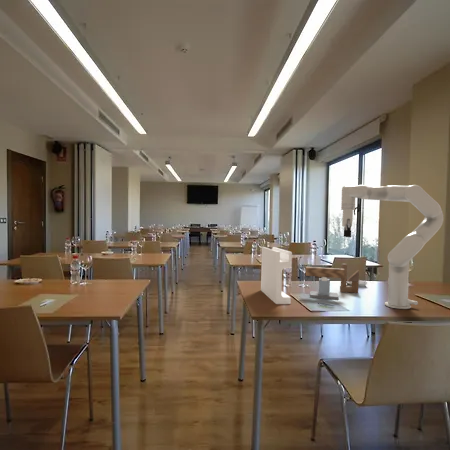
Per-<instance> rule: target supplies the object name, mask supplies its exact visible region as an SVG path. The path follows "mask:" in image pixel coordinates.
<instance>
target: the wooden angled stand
mask: <svg viewBox="0 0 450 450" xmlns="http://www.w3.org/2000/svg"><path fill="white" fill-rule="evenodd" d="M340 269H344V278H340V285H339V291H340V293H353V294H358V293H359V286H360V285H359V282H360V270H359V269H357V270H356V271H355V272H353V274H351V275H350V276H348V264H347V263H341V264H340ZM347 282H351V285H348V283H347Z"/></svg>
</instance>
